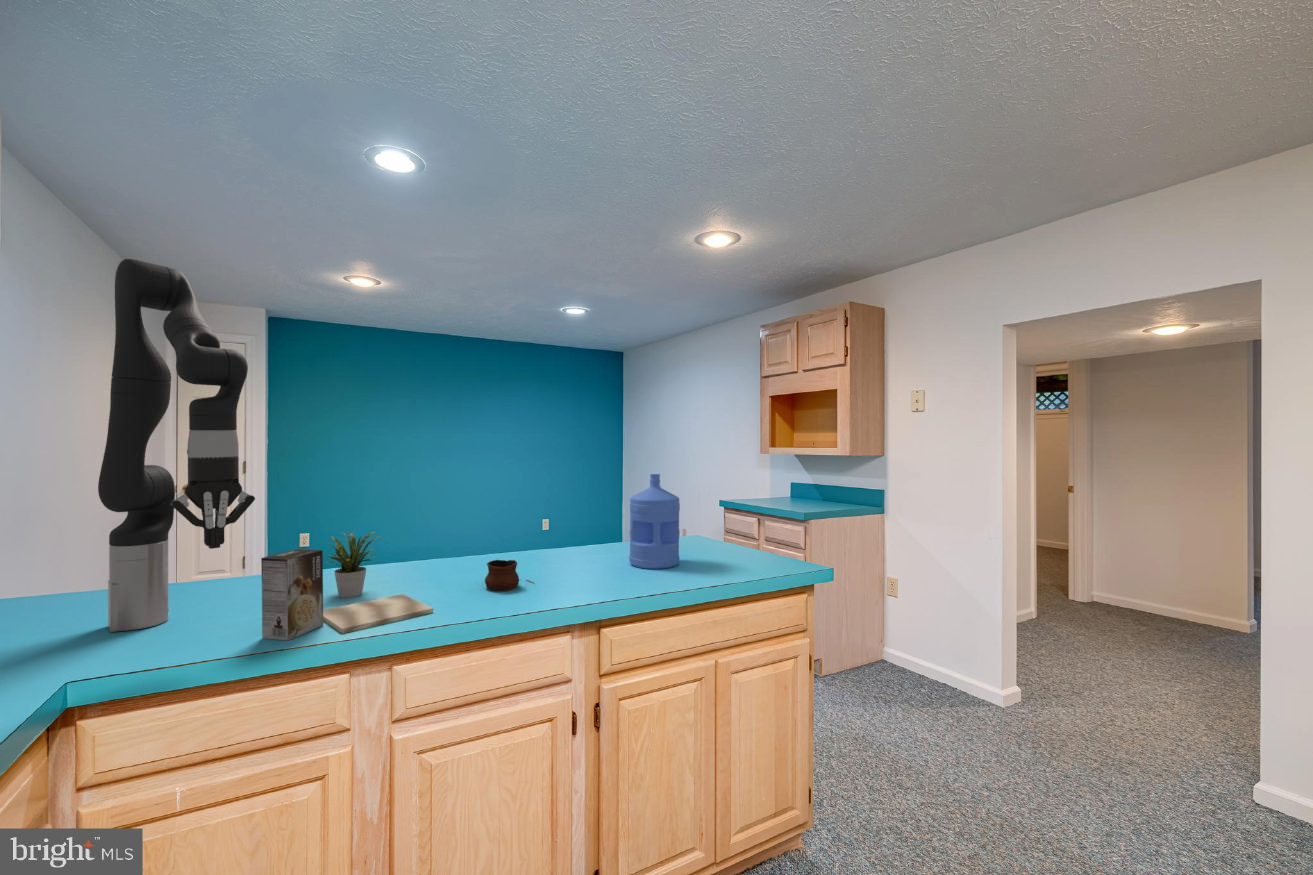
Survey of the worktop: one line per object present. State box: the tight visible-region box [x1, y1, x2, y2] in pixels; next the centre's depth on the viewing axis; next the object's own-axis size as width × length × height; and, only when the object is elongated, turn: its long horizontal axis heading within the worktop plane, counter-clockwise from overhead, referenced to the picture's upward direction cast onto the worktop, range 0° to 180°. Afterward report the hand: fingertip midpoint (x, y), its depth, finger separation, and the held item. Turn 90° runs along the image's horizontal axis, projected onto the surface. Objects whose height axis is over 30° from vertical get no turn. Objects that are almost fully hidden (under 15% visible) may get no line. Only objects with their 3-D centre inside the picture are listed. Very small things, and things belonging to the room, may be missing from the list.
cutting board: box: [323, 593, 434, 634], centre depth 128 cm, size 19×16×1 cm
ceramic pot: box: [484, 559, 536, 593], centre depth 151 cm, size 18×18×7 cm
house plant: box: [321, 530, 382, 599], centre depth 144 cm, size 14×14×16 cm
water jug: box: [628, 473, 681, 570], centre depth 180 cm, size 16×16×28 cm
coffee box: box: [260, 548, 324, 641], centre depth 117 cm, size 9×6×16 cm
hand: (214, 547), depth 107 cm, fingers closed
